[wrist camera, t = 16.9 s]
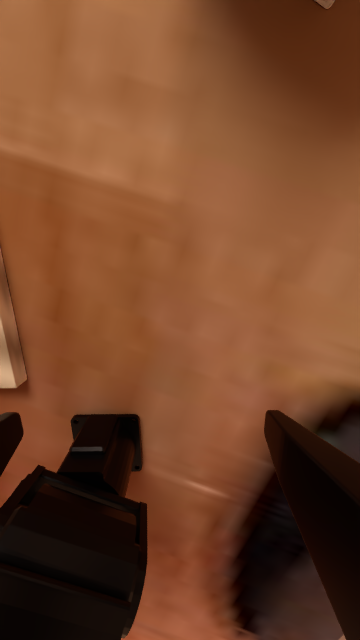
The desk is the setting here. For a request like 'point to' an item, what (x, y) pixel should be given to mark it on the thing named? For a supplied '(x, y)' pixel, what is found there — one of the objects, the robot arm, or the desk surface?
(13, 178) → the desk surface
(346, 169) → the desk surface
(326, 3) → the light bulb box
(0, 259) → the birch board
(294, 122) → the desk surface
